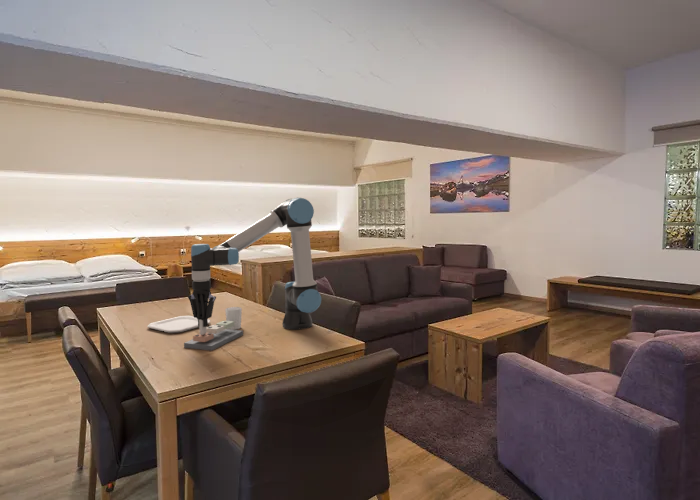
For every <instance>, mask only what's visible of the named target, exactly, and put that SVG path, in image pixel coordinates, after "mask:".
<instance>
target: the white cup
mask: <svg viewBox="0 0 700 500" xmlns="http://www.w3.org/2000/svg"><path fill="white" fill-rule="evenodd" d="M224 311H225V318H226V319H225V321H234V326H233V327H230V328H228V329H230V330H241V328H242V311H243V309H242V307H240V306H231V307H226V308H225V309H224Z"/></svg>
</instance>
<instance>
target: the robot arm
mask: <svg viewBox="0 0 700 500" xmlns="http://www.w3.org/2000/svg"><path fill="white" fill-rule="evenodd" d="M314 210H315V209H314V206H313V204H312V203H311V201H309V200H308V199H306V198H302V197H294V198H288V199H286V200H285V201H283V202H281V203H280V204H279V205H277V206H275V208H273V209H271V210H270V213H269V214H267V215H266V216H264V217H263V218H261V219H259V220H258V221H255V223H253V224H251V225H250V226H248V227H246V228H244V230H242V231H240V232H238V233H237V234H235V235H234V236H231V237H230V238H229V239H227V240H225V241H224V242H222V243H220V244H217V245H216V246H214V247H213V248H212V247H210V244H209V243H196V244H192V245H191V247H190V251H191V252H190V260H191V280H193V281H192V282H191V288H192V293H191V294H190V295H188V296H187V298H188V300H189V303H190V306H191V312H192V314H193V315H192V316H194V318H197V319H198V326H199V327H198V329H199V334H200V335H204V334H206V333H207V331H206V328H207V327H208V325H209V323H208V321H207V319H210V318H212V315H213V311H214V305H215V302H216V299H217V296H215V295H212V291H211V288H212V286H211V285H212V284H211V267H214V266H233V265H238V263H239V261H240V254H239V253H240V252H241V251H243V250H244V249H246V248H248V247H249V246H250V245H252V244H254V243H256V242H257V241H259V240H260V239H262V238H263V237H265V236H266V235H268V234H270V233H271V232H273V231H274V230H276V229H277V228H283V227H285V226H286V228H287V229H288V230H289V231H290V237H291V250H292V259H293V270H294V281H289V282H286V283H285V287H284V291H285V292H284V293H285V294H284V295H285V313H284V316H283V319H282V328H284V329H287V330H295V331H296V330H297V331H299V330H305V329H309V328H311V327H312V326H313V320H312V316H311V314H312V313H313V312H315V311H317V310H318V309H319V307H320V306H321V304H322V296H321V294H320V292H319V291H318V283H317V281H316V280H314V272H313V261H312V249H311V238H310V229H311V227H312V225H313V224H312V218H313V217H314V213H315V211H314Z"/></svg>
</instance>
